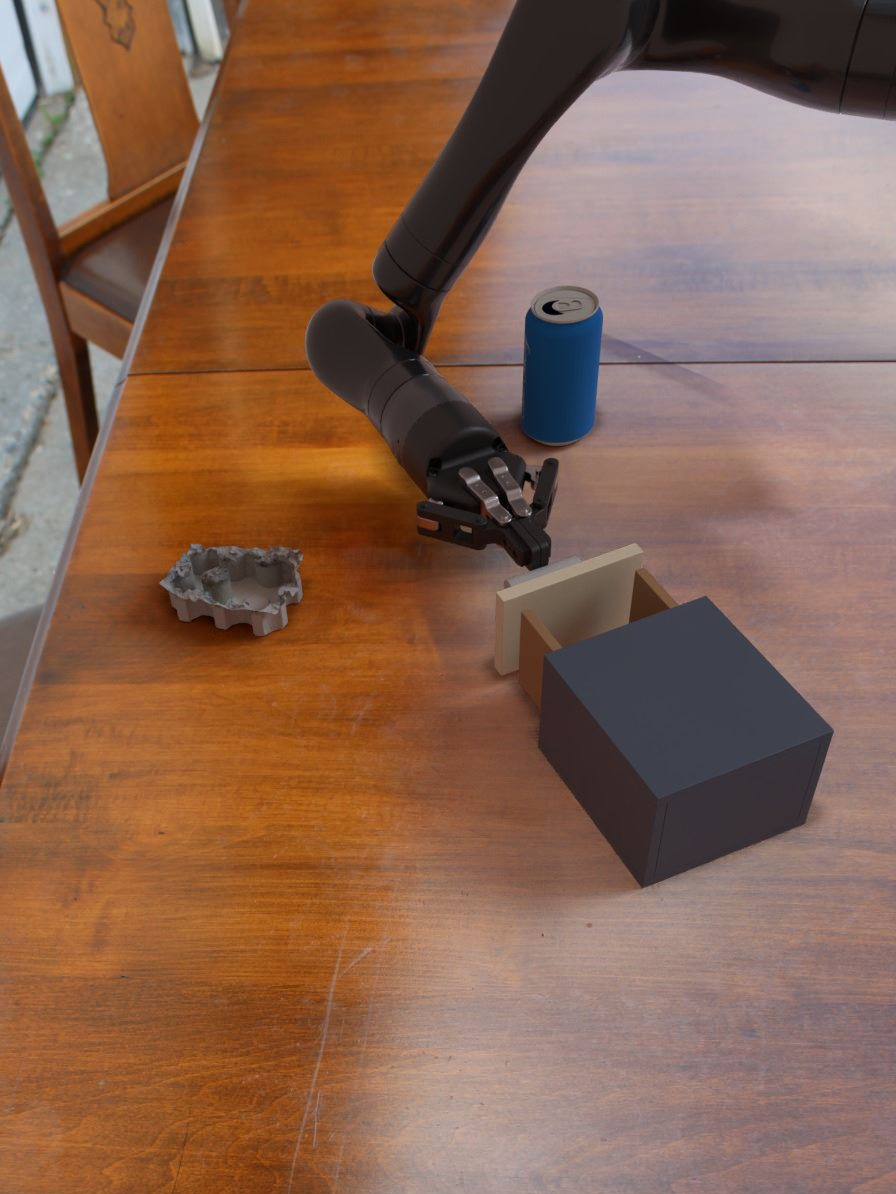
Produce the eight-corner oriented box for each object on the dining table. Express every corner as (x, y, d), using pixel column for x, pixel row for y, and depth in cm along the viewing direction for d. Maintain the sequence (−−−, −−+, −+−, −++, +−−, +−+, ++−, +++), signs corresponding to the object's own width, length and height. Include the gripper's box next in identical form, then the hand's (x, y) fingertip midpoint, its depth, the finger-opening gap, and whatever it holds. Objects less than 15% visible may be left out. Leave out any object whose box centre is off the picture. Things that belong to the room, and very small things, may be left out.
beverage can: (515, 414, 122) (519, 288, 113) (585, 404, 122) (595, 278, 112) (527, 455, 118) (533, 328, 109) (600, 445, 118) (611, 318, 109)
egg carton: (313, 588, 111) (309, 548, 107) (275, 647, 107) (269, 607, 103) (201, 562, 114) (194, 523, 111) (159, 618, 110) (151, 579, 107)
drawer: (471, 636, 104) (471, 561, 98) (600, 589, 105) (608, 513, 100) (581, 784, 93) (589, 710, 88) (723, 730, 95) (739, 654, 89)
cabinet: (537, 747, 97) (543, 654, 90) (688, 690, 99) (706, 594, 92) (642, 888, 89) (657, 799, 81) (805, 823, 90) (834, 730, 83)
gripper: (365, 425, 106) (461, 546, 96) (513, 376, 108) (622, 490, 98) (371, 503, 112) (461, 625, 102) (511, 456, 114) (614, 571, 104)
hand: (540, 558), depth 100 cm, fingers closed
